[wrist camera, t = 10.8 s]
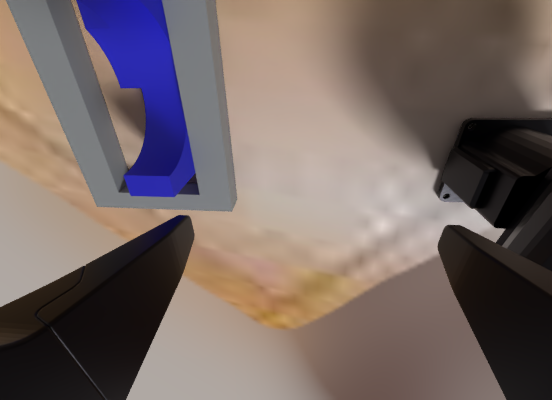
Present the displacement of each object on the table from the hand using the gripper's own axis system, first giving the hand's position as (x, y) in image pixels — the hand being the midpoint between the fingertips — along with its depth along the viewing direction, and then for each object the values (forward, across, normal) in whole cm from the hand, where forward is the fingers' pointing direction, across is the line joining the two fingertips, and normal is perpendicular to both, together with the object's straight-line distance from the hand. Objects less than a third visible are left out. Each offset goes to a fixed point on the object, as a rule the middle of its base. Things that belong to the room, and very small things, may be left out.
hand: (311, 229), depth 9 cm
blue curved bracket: (+12, +11, -4) cm, 17 cm away
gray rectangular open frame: (+12, +12, -3) cm, 17 cm away
